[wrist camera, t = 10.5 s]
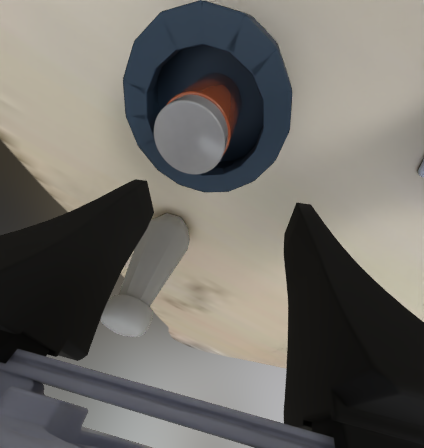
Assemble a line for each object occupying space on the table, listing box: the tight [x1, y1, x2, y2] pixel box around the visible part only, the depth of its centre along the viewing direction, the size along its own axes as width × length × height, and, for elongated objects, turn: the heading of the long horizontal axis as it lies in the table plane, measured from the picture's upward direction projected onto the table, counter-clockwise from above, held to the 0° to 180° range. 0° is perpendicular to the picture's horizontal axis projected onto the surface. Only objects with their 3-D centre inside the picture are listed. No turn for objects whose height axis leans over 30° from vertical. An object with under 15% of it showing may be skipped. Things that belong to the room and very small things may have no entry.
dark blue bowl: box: [123, 0, 292, 192], centre depth 15 cm, size 10×10×5 cm
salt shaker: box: [101, 213, 190, 337], centre depth 22 cm, size 6×6×13 cm
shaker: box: [154, 73, 242, 174], centre depth 13 cm, size 4×4×7 cm
